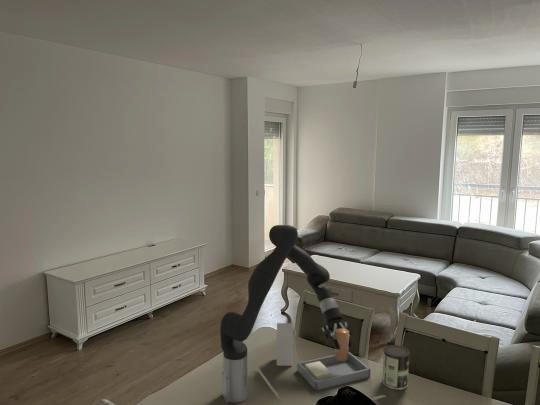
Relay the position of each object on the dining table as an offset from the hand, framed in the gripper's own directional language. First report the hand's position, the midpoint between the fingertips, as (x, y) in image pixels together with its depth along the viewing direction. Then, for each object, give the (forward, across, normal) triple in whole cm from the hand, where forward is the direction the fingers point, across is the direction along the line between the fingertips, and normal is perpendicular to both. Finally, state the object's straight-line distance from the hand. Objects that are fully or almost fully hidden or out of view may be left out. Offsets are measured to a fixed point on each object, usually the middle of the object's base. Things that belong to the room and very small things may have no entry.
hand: (344, 347), depth 174 cm
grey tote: (+8, -4, +10) cm, 13 cm away
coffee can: (+18, +17, 0) cm, 25 cm away
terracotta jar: (+3, 0, +5) cm, 6 cm away
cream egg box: (+7, -12, +9) cm, 17 cm away
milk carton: (-4, -19, +22) cm, 30 cm away
